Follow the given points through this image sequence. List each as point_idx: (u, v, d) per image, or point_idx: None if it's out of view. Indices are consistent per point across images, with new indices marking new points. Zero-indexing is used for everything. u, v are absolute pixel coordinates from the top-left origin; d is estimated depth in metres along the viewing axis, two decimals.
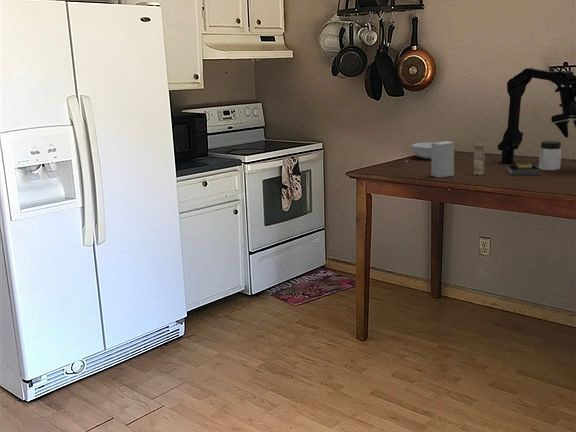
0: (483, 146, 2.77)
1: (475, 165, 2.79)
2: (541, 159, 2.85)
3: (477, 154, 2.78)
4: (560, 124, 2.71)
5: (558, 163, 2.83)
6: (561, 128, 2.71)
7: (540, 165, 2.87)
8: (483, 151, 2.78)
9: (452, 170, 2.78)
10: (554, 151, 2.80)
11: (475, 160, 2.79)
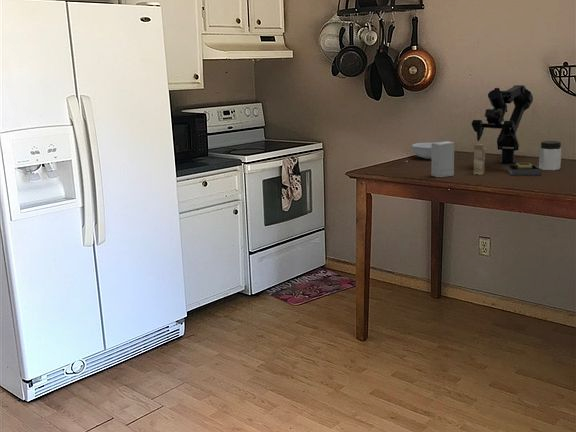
0: (483, 146, 2.77)
1: (475, 165, 2.79)
2: (541, 159, 2.85)
3: (477, 154, 2.78)
4: None
5: (558, 163, 2.83)
6: None
7: (540, 165, 2.87)
8: (483, 151, 2.78)
9: (452, 170, 2.78)
10: (554, 151, 2.80)
11: (475, 160, 2.79)
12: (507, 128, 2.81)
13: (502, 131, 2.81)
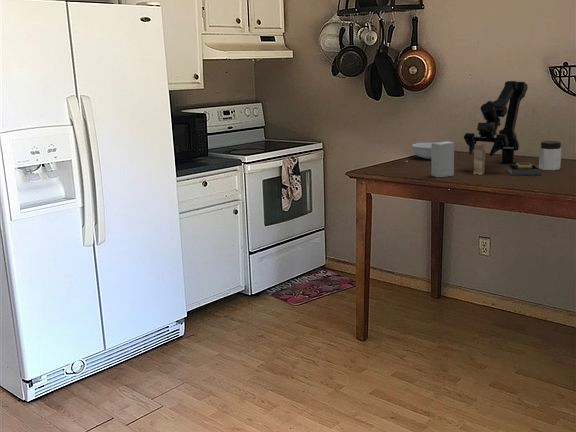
0: (483, 146, 2.77)
1: (475, 165, 2.80)
2: (541, 159, 2.85)
3: (477, 154, 2.78)
4: None
5: (558, 163, 2.83)
6: None
7: (540, 165, 2.87)
8: (483, 151, 2.78)
9: (452, 170, 2.78)
10: (554, 151, 2.80)
11: (475, 160, 2.79)
12: (499, 142, 2.76)
13: (494, 145, 2.77)
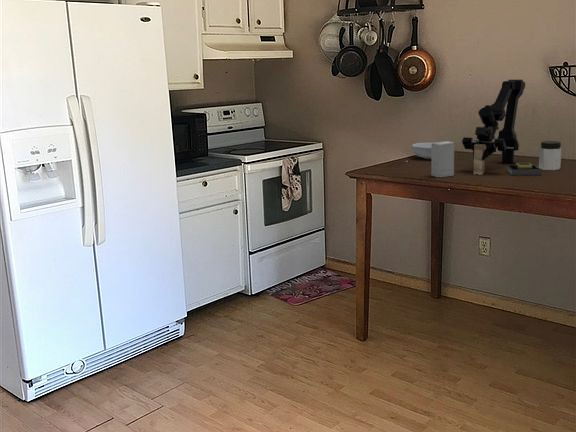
0: (483, 146, 2.77)
1: (475, 165, 2.79)
2: (541, 159, 2.85)
3: (477, 154, 2.78)
4: None
5: (558, 163, 2.83)
6: None
7: (540, 165, 2.87)
8: (483, 151, 2.78)
9: (452, 170, 2.78)
10: (554, 151, 2.80)
11: (475, 160, 2.79)
12: (492, 146, 2.77)
13: (486, 149, 2.77)
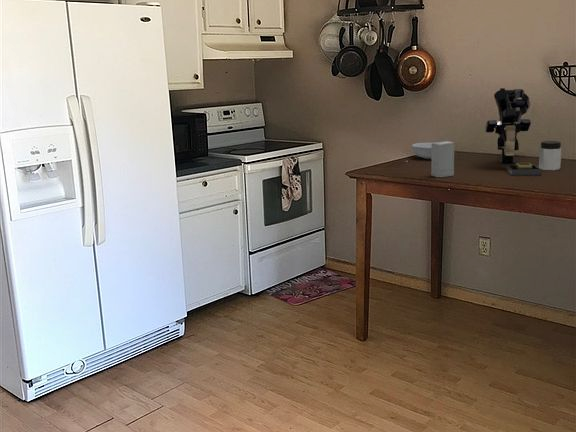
0: None
1: (508, 146, 2.83)
2: (541, 159, 2.85)
3: (510, 135, 2.82)
4: (500, 131, 2.87)
5: (558, 163, 2.83)
6: (501, 134, 2.86)
7: (540, 165, 2.87)
8: None
9: (452, 170, 2.78)
10: (554, 151, 2.80)
11: (508, 141, 2.83)
12: (519, 126, 2.85)
13: (516, 130, 2.84)
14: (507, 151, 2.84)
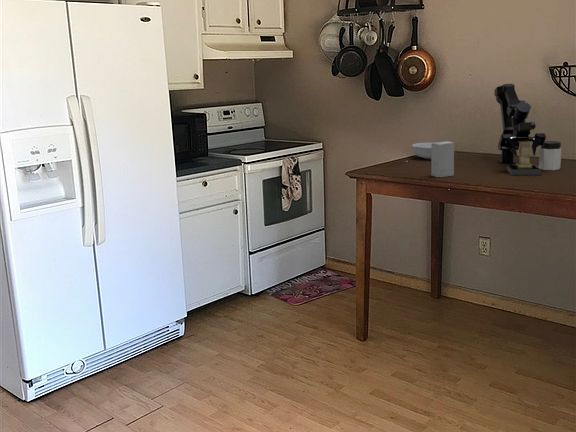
0: None
1: (522, 163, 2.76)
2: (541, 159, 2.85)
3: (525, 151, 2.75)
4: (510, 146, 2.80)
5: (558, 163, 2.83)
6: (511, 149, 2.79)
7: (540, 165, 2.87)
8: None
9: (452, 170, 2.78)
10: (554, 151, 2.80)
11: (522, 158, 2.76)
12: (539, 141, 2.77)
13: (535, 144, 2.77)
14: None
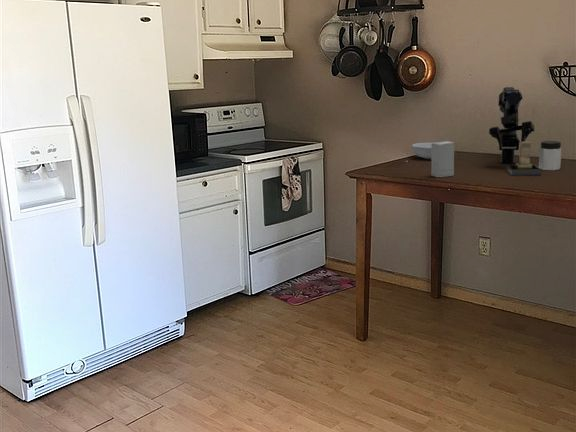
0: None
1: (523, 163, 2.76)
2: (541, 159, 2.85)
3: (525, 151, 2.75)
4: None
5: (558, 163, 2.83)
6: None
7: (540, 165, 2.87)
8: None
9: (452, 170, 2.78)
10: (554, 151, 2.80)
11: (523, 158, 2.76)
12: (527, 129, 2.82)
13: (523, 134, 2.83)
14: None
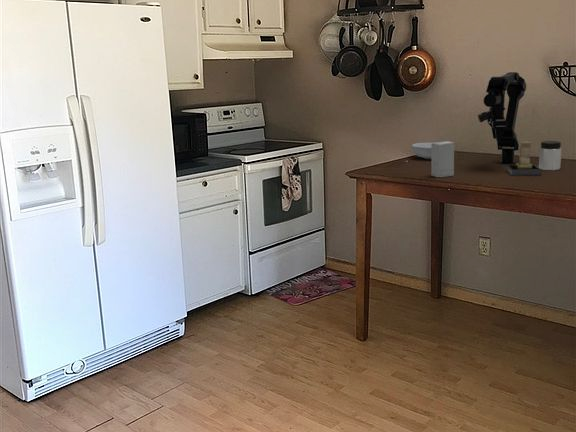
0: None
1: (523, 163, 2.76)
2: (541, 159, 2.85)
3: (525, 151, 2.75)
4: None
5: (558, 163, 2.83)
6: None
7: (540, 165, 2.87)
8: None
9: (452, 170, 2.78)
10: (554, 151, 2.80)
11: (523, 158, 2.76)
12: (496, 127, 2.82)
13: (495, 131, 2.84)
14: None
